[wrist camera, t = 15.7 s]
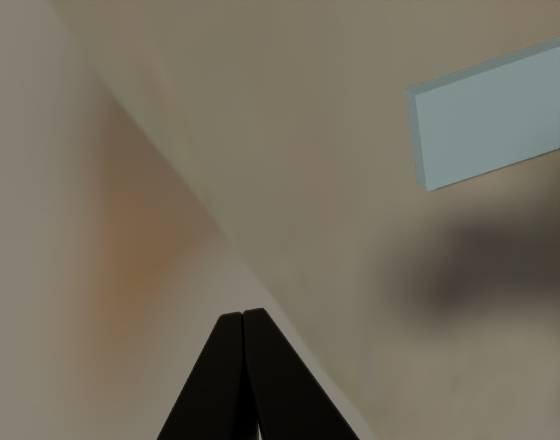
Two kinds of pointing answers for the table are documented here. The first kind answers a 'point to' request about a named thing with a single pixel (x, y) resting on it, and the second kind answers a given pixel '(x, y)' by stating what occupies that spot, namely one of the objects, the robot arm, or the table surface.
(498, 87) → the blue-grey rectangular block
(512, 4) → the table surface
